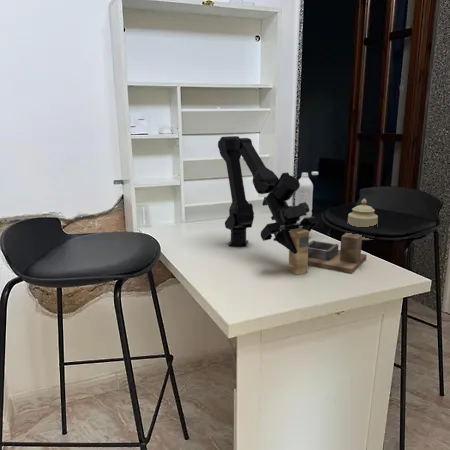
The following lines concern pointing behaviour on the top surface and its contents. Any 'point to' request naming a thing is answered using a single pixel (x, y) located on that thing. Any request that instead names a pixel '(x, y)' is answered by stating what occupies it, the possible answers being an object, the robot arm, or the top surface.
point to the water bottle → (305, 194)
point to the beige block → (299, 251)
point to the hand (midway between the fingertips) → (301, 252)
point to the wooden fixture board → (337, 254)
